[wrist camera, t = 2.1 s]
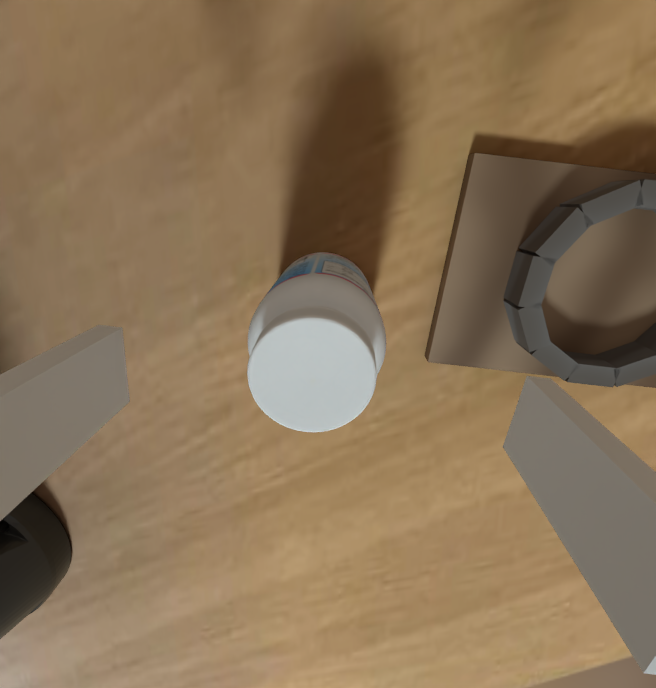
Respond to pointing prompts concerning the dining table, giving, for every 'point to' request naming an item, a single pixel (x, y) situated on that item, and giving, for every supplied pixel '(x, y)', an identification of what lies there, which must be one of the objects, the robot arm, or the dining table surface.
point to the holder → (551, 273)
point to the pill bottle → (316, 345)
